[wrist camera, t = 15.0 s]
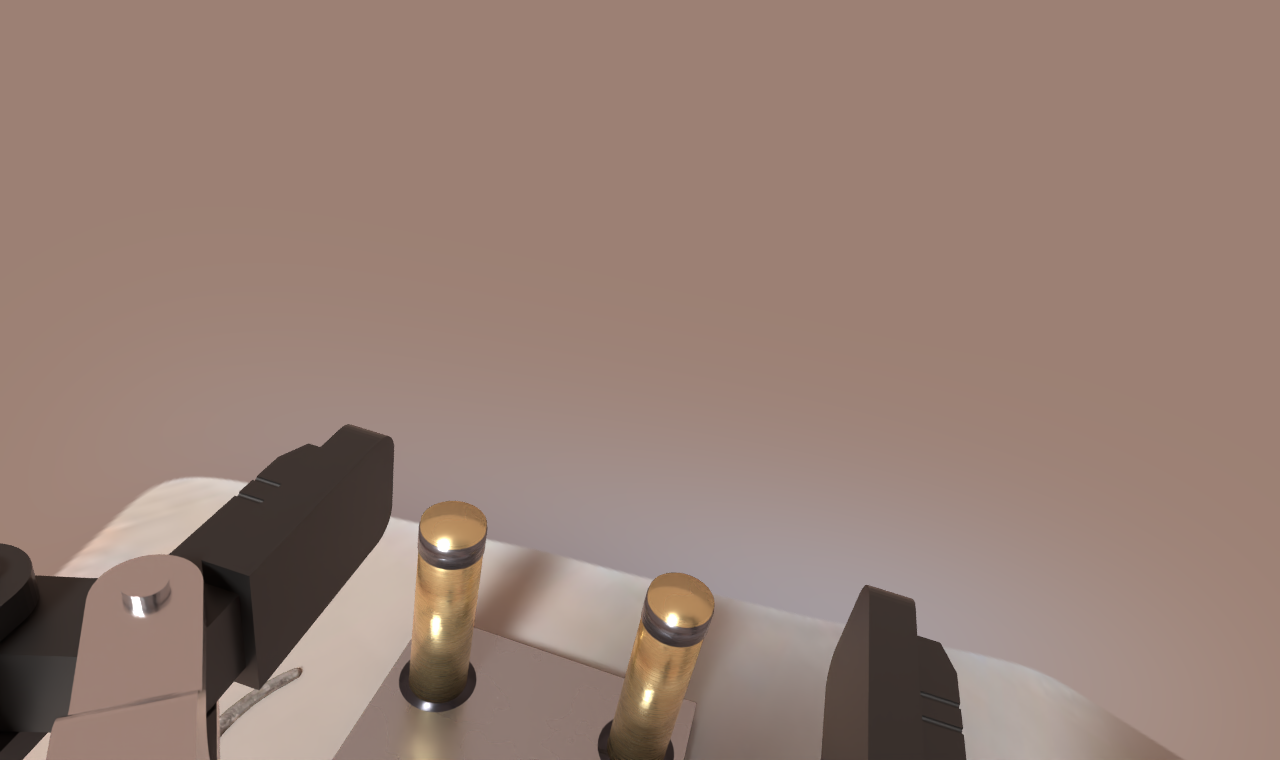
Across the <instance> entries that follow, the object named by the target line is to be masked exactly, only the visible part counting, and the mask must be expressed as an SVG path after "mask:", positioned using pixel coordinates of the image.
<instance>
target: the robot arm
mask: <svg viewBox="0 0 1280 760" xmlns="http://www.w3.org/2000/svg"><path fill="white" fill-rule="evenodd" d="M393 462H394V443H393V440H392V438H391V437H389V436H386V435H383V434H380V433H377V432H373V431H370V430H366V429H363V428H360V427H357V426H354V425H349V424H348V425H345V426H343V427H342V428H341V429H340V430H338V431H337V432H336V433H335V434H334V435H333V436H332V437H331V438H330V439H329V440H328V441H327V442H326V443H325V444H324V445H322V446H321V447H318V446H314V445H311V444H306V445H304V446H302V447H300V448H298V449H295V450H293V451H291V452H288V453H286V454H284V455H282V456H280V457H278V458H277V459H276V460H274V461H273V462H272V463H271V464H270V465H269V466H268V467H267V468H265V469H264V470H263V471H262V472H261V473H260V474H259V475H258V476H257V478H256V480H255V481H254V480H252V481H251V482H250V483H249V484H248V485H246V486H245V487H244V488H243V489H242V490H241V491H240V492H239V495H238V496H234V497H233V498H232V499H231V500H230V501H228V502H227V503H226V504H225V505H224V506H223V507H222V508H221V509H220V510H218V511H217V512H216V513H215V514H214V515H213V516H212V517H211V518H209V519H208V520H207V521H206V522H205V523H204V524H203V525H202V526H200V527H199V528H198V529H197V530H196V531H195V532H194V533H193V534H191V535H190V536H189V537H188V538H187V539H186V540H185V541H184V542H183V543H181V544H180V545H179V546H178V547H177V548H176V549H175V550H174V551H172V552H171V553H170V554H169V555H160V554H158V555H148V556H142V557H138V558H134V559H131V560H128V561H126V562H123V563H121V564H119V565H117V566H115V567H113V568H111V569H110V570H108V571H107V572H105V573H104V574H103V575H102V576H101V577H99V578H75V577H55V576H35V574H34V570H33V566H32V562H31V560H30V558H29V556H28V555H27V554H26V553H25V552H24V551H22V550H21V549H19V548H17V547H14V546H11V545H6V544H0V760H23V759H24V757H25V756H26V755H27V754H28V753H29V752H30V751H31V750H32V749H33V748H34V747H35V746H36V745H37V744H38V742H39V741H40V740H41V739H42V738H43V737H44V736H45V735H46V734H47V733H48V732H51V735H50V741H49V746H48V752H47V758H46V760H220V718H219V701H218V699H219V698H220V697H221V696H222V695H223V694H224V692H225V691H226V690H227V689H228V688H229V687H230V685H231V684H232V683H233V682H237V683H240V684H243V685H246V686H249V687H251V688H254V689H257V690H260V689H261V688H262V687H263V685H264V684H265V683H266V682H267V680H268V679H269V678H270V677H271V675H272V674H273V673H274V672H275V670H276V669H277V668H278V667H279V665H280V664H281V663H282V662H283V660H284V659H285V658H286V657H287V655H288V654H289V653H290V652H291V650H292V649H293V648H294V647H295V645H296V644H297V643H298V642H299V640H300V639H301V638H302V637H303V636H304V634H305V633H306V632H307V631H308V629H309V628H310V627H311V626H312V624H313V623H314V622H315V621H316V619H317V618H318V617H319V616H320V614H321V613H322V612H323V611H324V609H325V608H326V607H327V606H328V604H329V603H330V602H331V601H332V599H333V598H334V597H335V596H336V594H337V593H338V592H339V591H340V589H341V588H342V587H343V586H344V585H345V583H346V582H347V581H348V580H349V578H350V577H351V576H352V575H353V573H354V572H355V571H356V570H357V568H358V567H359V566H360V565H361V563H362V562H363V561H364V560H365V558H366V557H367V556H368V555H369V553H370V552H371V551H372V550H373V548H374V547H375V546H376V545H377V543H378V542H379V541H380V539H381V537H382V536H383V534H384V532H385V530H386V527H387V525H388V522H389V519H390V515H391V510H392V494H393V492H392V491H393ZM959 705H960V697H959V688H958V679H957V673H956V671H955V669H954V667H953V665H952V663H951V662H950V660H949V658H948V656H947V654H946V652H945V650H944V649H943V647H942V645H941V643H939V642H936V641H933V640H930V639H927V638H923V637H920V636H917V624H916V608H915V602H914V600H913V599H911V598H908V597H904V596H901V595H898V594H895V593H892V592H888V591H885V590H882V589H879V588H875V587H872V586H869V585H865V586H864V588H863V589H862V590H861V592H860V594H859V597H858V599H857V601H856V603H855V606H854V608H853V610H852V612H851V615H850V617H849V619H848V622H847V624H846V626H845V628H844V631H843V633H842V635H841V637H840V640H839V642H838V644H837V647H836V649H835V651H834V654H833V657H832V660H831V664H830V668H829V672H828V677H827V683H826V693H825V708H824V724H823V739H822V755H821V760H966V752H965V743H964V735H963V734H962V729H963V725H962V716H961V709H959Z"/></svg>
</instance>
